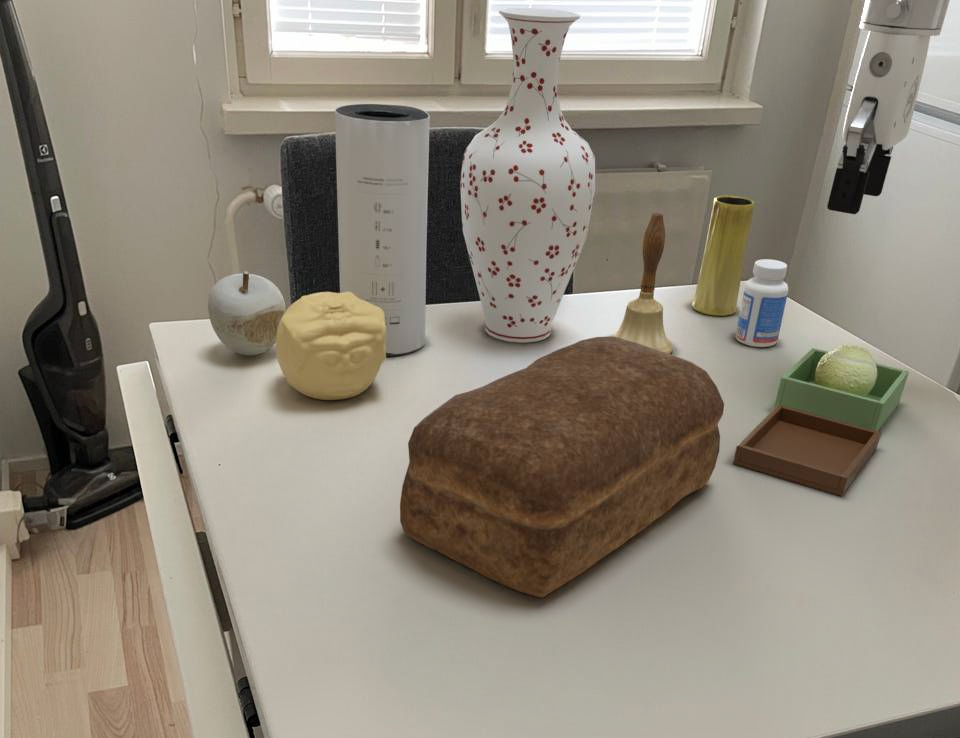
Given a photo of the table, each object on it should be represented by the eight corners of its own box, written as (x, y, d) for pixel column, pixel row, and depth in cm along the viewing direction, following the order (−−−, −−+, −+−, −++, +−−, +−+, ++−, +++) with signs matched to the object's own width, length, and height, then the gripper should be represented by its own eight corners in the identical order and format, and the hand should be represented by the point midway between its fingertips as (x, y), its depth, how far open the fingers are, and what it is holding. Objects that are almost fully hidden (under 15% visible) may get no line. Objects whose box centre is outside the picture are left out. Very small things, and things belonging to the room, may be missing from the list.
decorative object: (249, 334, 123) (241, 251, 116) (303, 351, 119) (298, 267, 113) (196, 355, 117) (185, 268, 110) (251, 374, 113) (243, 285, 107)
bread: (723, 483, 97) (752, 352, 89) (537, 616, 78) (552, 465, 70) (582, 429, 105) (596, 305, 97) (381, 537, 86) (378, 394, 78)
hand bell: (593, 345, 125) (609, 212, 115) (632, 330, 130) (650, 201, 120) (647, 365, 120) (668, 227, 111) (685, 348, 125) (708, 215, 116)
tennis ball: (878, 415, 110) (896, 357, 106) (823, 417, 109) (839, 358, 105) (850, 391, 115) (866, 335, 111) (797, 393, 114) (812, 336, 110)
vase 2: (744, 310, 138) (766, 201, 130) (720, 319, 134) (742, 208, 126) (707, 298, 141) (726, 192, 133) (683, 308, 138) (701, 198, 129)
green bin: (898, 404, 114) (909, 371, 112) (872, 438, 107) (883, 403, 104) (804, 380, 119) (812, 347, 116) (773, 411, 111) (781, 377, 109)
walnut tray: (876, 449, 105) (881, 431, 103) (841, 496, 96) (847, 478, 95) (774, 421, 109) (778, 404, 108) (732, 463, 100) (736, 445, 99)
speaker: (433, 331, 126) (437, 101, 110) (418, 361, 118) (420, 118, 102) (352, 323, 127) (344, 95, 111) (331, 353, 119) (320, 111, 103)
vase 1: (450, 308, 133) (458, 0, 112) (568, 309, 135) (598, 6, 114) (461, 354, 120) (473, 16, 99) (591, 354, 122) (630, 23, 101)
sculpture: (296, 417, 104) (289, 316, 98) (267, 374, 113) (259, 278, 106) (398, 403, 108) (398, 305, 102) (363, 362, 117) (360, 269, 110)
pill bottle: (782, 339, 130) (800, 263, 124) (768, 351, 126) (786, 273, 120) (742, 329, 132) (758, 254, 126) (728, 341, 128) (743, 264, 122)
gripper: (926, 23, 88) (870, 226, 98) (960, 12, 100) (907, 193, 110) (841, 15, 91) (796, 212, 101) (884, 5, 103) (840, 182, 113)
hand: (854, 202), depth 106 cm, fingers open, 9 cm apart
